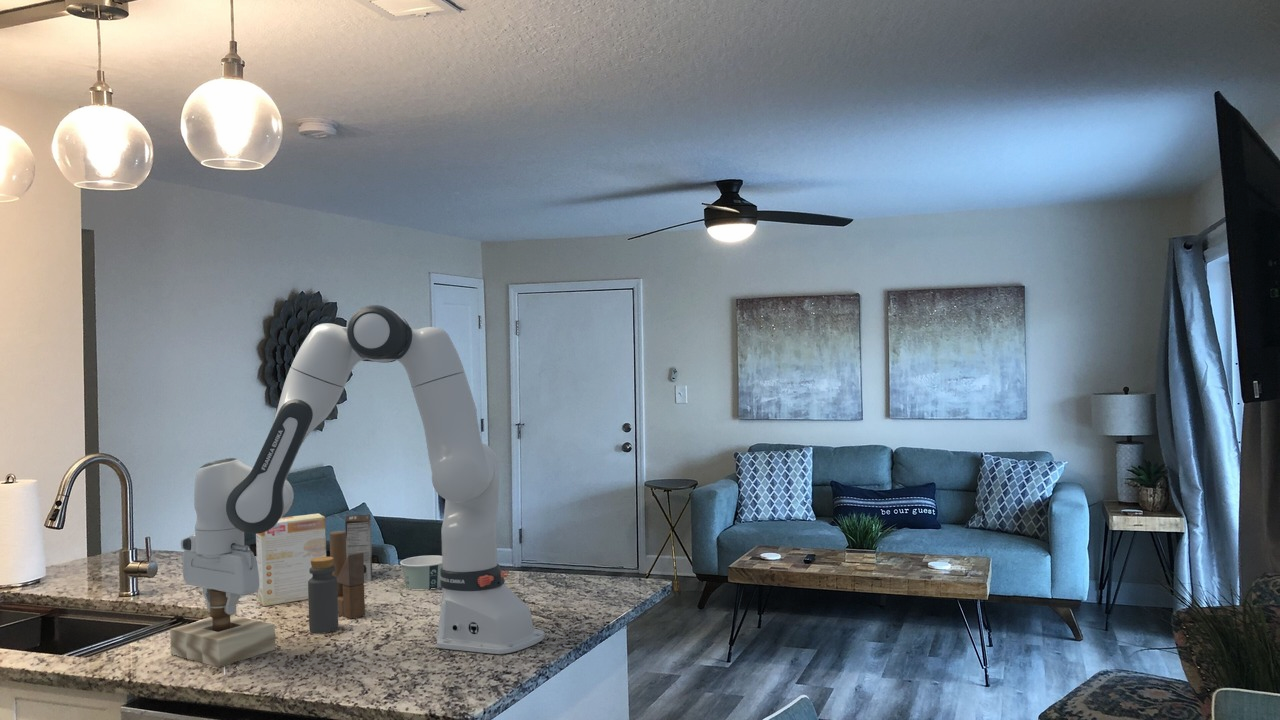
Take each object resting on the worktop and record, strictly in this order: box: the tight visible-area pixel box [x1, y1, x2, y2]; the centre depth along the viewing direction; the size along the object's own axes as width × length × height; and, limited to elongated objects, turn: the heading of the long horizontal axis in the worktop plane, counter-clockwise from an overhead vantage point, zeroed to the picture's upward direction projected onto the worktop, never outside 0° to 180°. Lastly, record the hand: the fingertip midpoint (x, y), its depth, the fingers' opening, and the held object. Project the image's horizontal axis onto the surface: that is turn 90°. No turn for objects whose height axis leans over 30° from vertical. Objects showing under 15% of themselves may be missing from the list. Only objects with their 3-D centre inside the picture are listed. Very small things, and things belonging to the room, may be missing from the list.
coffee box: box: [344, 514, 373, 583], centre depth 245 cm, size 9×6×16 cm
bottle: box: [307, 556, 339, 634], centre depth 198 cm, size 6×6×15 cm
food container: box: [399, 554, 442, 589], centre depth 235 cm, size 12×12×6 cm
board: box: [169, 614, 276, 668], centre depth 184 cm, size 16×12×5 cm
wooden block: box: [329, 530, 366, 620], centre depth 211 cm, size 4×11×18 cm, turn 44°
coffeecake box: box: [255, 513, 327, 607], centre depth 226 cm, size 15×7×20 cm, turn 123°
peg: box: [209, 589, 233, 632], centre depth 184 cm, size 4×4×8 cm
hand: (221, 611), depth 184 cm, fingers closed on peg, 4 cm apart
